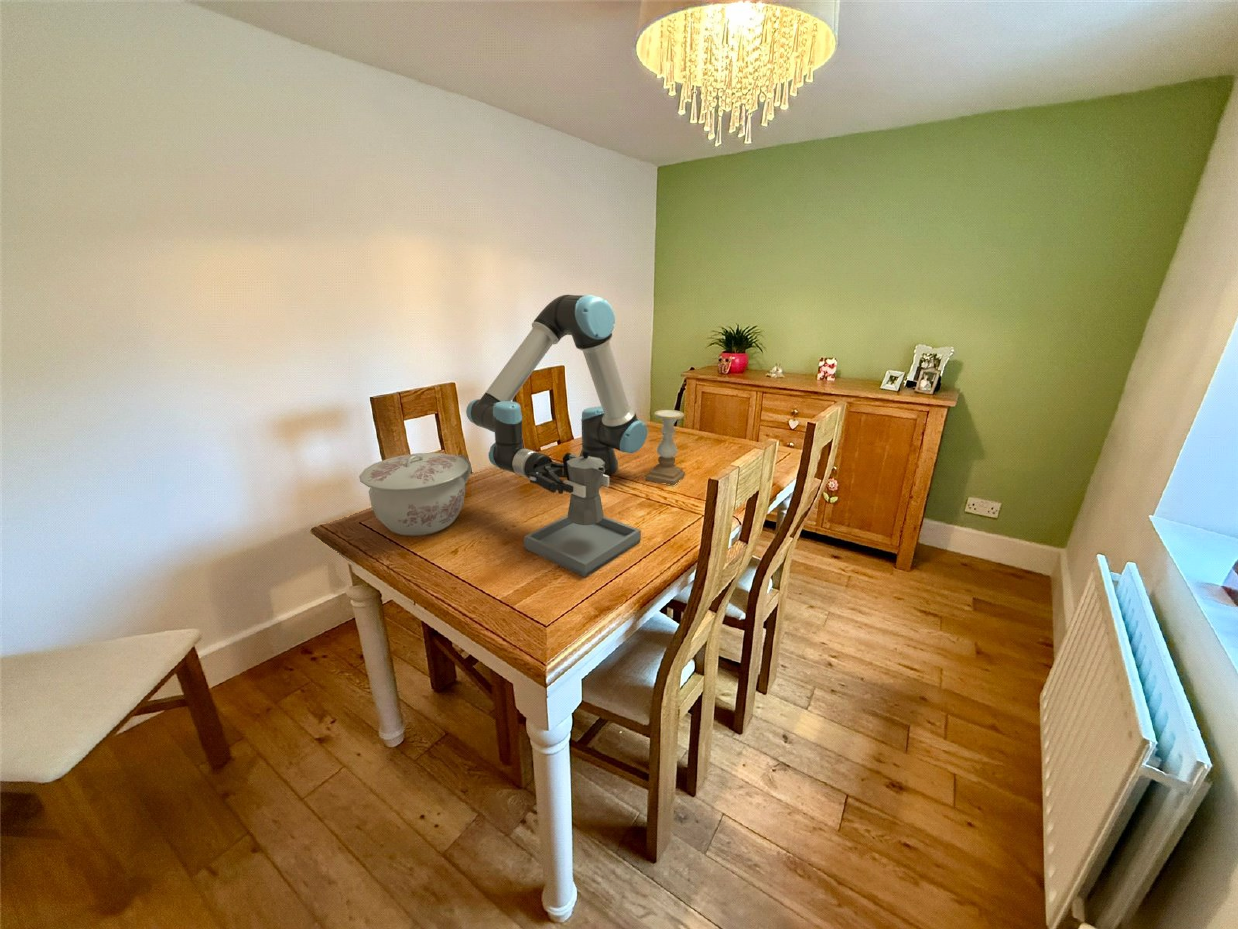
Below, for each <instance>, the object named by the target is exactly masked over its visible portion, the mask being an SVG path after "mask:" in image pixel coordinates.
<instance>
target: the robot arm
mask: <svg viewBox="0 0 1238 929" xmlns="http://www.w3.org/2000/svg"><path fill="white" fill-rule="evenodd" d="M615 316H616V315H615V311H614V309H613V307H612V305H611V304H610V303H609V302H608V301H607V300H606V299H605V298H602V297H600V296H596V295H593V294H586V295H579V294H578V295H576V294H575V295H574V294H563V295H560V296H558V297H556V298H554V299H552V300H551V302H549V303H548V304H547V305H546V306H545V307H544V308H543V309H542V310H541V311H540V313H539V314H538V315H537V316H536V318H535V319H534V320H533V321H532V323H531V330H530V332H528V334H527V336H526V337H525V339H523V341H522V343H521V344H520V345H519V346H518V348H517V349H516V351H515V352H514V353H513V355H512V356H511V357H510V359H509V360H508V361H507V363H506V364H505V365H504V367H503V368H502V369H501V371H500V372H499V373H498V375H497V376H496V377H495V379H494V380H493V382H492V383H491V384H490V386H489V387H488V388H487V390H486V391H485V393H484V394H482V396H481V397H480V399H479V398H478V399H474V400H472V401H470V402H469V403H468V405H467V407H466V412H465V413H466V417H467V418H468V421H469V422H471V423H472V424H474V425H476V426H477V427H479V428H484V429H486V430H488V431H490V432H492V433H494V443H493V444H492V445H491V446H490V448H489V452H488V460H489V462H490V463H491V464H492V465H493V466H495V467H497V468H499V469H500V470H503V471H507V472H510V473H514V474H515V475H518V476H522V477H524V478H526V479H529V483H531V484H534V485H537V486H539V487H540V488H543V489H544V490H547V491H548V492H550V493H553V494H554V493H556V492H558V495H562V494H564V492H565V493H569V494H570V495H571V494H574V495H577V496H580V497H583V498H585V497H586V486H583V485H580V484H577V483H574V482H571V481H568V480H567V477H566V473H565V468H564V464H563V463H559V462H557V461H554V460H552V458H551V457H550V456H549V455H547V454H545V453H542V452H538V451H534V450H532V449H528V448H525V447H524V441H523V415H522V409H521V408H522V407H521V405H520V403H518V402H516V401H513V399H514V398H515V397H516V395H517V394H518V392H519V391H520V390H521V388H522V387H523V386H524V384H525V383H526V382H527V380H528V378H530V376H531V375H532V373H533V372H534V371H535V369H536V368H537V366H538V365H540V362H541V361H542V360H543V358H544V357H545V356H546V354H547V353H548V352H549V350H550V349H551V347H552V346H553V345H557V344H559V342H560V341H561V339H563V338H564V337H565V336H572V337H571V338H572V340H573V343H574V346H575V348H576V349H577V350H580V351H581V352H582V353H583V356H584V358H585V361H586V362H585V363H586V365H587V368H588V371H589V374H590V377H591V380H592V382H593V386H594V388H595V391H596V394H597V397H598V400H599V403H600V406H592V407H587V408H585V409H583V410H582V412H581V419H580V421H581V450H580V453H579V456H578V457H583V452H582V451H584V450H587V451H589V455H588V456H590V457H596V458H600V459H601V460H603V461H604V462H605V466H604V469H605V472H604V473H603V478H602V484H601V486H604V487H607V488H608V487H610V476H609V475H610V474H612V473H615V472H617V471H618V470H619V461H618V459H617V456H616V453H615V450H617V451H619V452H621V453H625V454H626V453H627V454H635V453H637V452H638V451H640V450H641V449H642V448H643V447H644V446H645V445H644V444H645V443H646V440H647V438H648V427H647V424H646V422H644V421H642V420H639V419H638V417H637V416H638V415H637V414H636V410H635V408H634V407H632V406H629V403H628V399H627V396H626V393H625V388H624V386H623V382H622V378H621V375H620V372H619V370H618V366H617V363H616V361H615V360H616V359H615V357H614V354H613V350H612V346H611V344H610V341H611V340H612V338H613V331H614V328H615V326H614V324H616V317H615ZM561 478H564V479H565V480H562V479H561Z"/></svg>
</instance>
